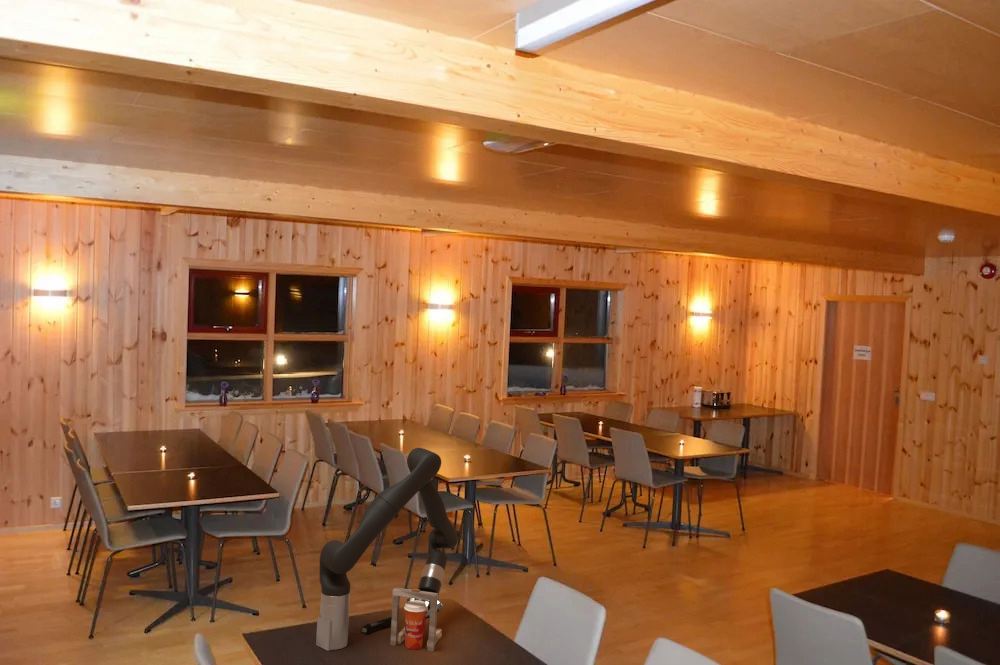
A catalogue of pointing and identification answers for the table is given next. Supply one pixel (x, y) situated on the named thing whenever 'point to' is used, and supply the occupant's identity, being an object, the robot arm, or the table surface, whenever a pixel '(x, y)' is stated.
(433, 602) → the guide arch
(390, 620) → the electric trimmer
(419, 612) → the paper cup
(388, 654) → the table surface
